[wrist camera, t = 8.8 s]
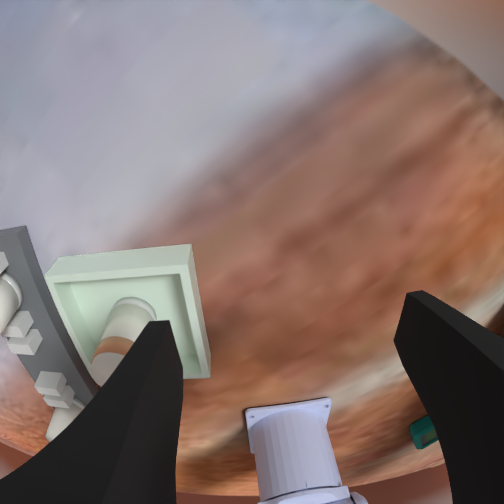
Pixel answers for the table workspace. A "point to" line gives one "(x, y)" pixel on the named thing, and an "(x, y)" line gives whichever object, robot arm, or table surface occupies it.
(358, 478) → the table surface
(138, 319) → the cylinder
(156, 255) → the tray
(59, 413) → the cylinder
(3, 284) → the white glossy rounded part
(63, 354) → the fuse board
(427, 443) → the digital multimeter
